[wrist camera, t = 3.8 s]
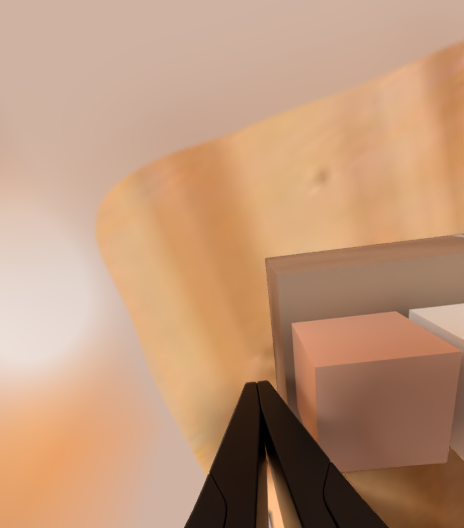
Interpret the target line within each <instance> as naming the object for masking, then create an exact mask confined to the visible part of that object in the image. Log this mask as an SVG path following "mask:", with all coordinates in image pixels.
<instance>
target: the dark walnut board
mask: <svg viewBox="0 0 464 528" xmlns="http://www.w3.org/2000/svg"><path fill="white" fill-rule="evenodd" d="M265 261H266V272H267V282H268V293H269V304H270V315H271V325H272V336H273V347H274V357H275V368H276V379H277V390H278V394H279V395H280V396H281V398H282V399H283V400H284V401H285V403H286V404H287V405H288V407H289V408H290V409H291V410H292V412H293V413H294V414H295V415H296V417H297V418H298V419H299V420H300V422H301V423H302V420H301V417H300V414H299V411H298V408H297V394H296V380H295V366H294V351H293V337H292V323H297V322H306V321H315V320H324V319H332V318H341V317H350V316H359V315H367V314H376V313H385V312H393V311H396V312H398V313H400V314H401V315H403V316H405V317H406V318H408V319H409V310H411V309H420V308H428V307H437V306H446V305H455V304H463V303H464V237H457V236H442V237H434V238H426V239H418V240H410V241H402V242H394V243H385V244H377V245H369V246H361V247H353V248H345V249H337V250H329V251H320V252H312V253H304V254H296V255H288V256H280V257H272V258H265ZM302 424H303V423H302Z"/></svg>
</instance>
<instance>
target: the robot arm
mask: <svg viewBox="0 0 464 528" xmlns="http://www.w3.org/2000/svg"><path fill="white" fill-rule="evenodd" d="M265 447H266V449H265ZM266 453H267V458H268V462H269V467H270V471H271V475H272V479H273V483H274V487H275V491H276V496H277V500H278V504H279V508H280V512H281V516H282V520H283V524H284V528H389V527H388V526H387V525H386V524H385V523H384V522H383V521H382V520H381V519H380V517H379V516H378V515H377V514H376V513H375V512H374V511H373V510H372V509H371V508H370V506H369V505H368V504H367V503H366V502H365V501H364V500H363V499H362V498H361V496H360V495H359V494H358V493H357V492H356V491H355V489H354V488H353V487H352V486H351V485H350V483H349V482H348V481H347V480H346V479H345V477H344V476H343V475H342V474H341V472H340V471H339V470H338V469H337V467H336V466H335V465H334V463H333V462H331V460H330V459H329V457H328V456H327V455H326V453H325V452H324V451H323V450H322V448H321V447H320V446H319V445H318V443H317V442H316V441H315V440H314V438H313V437H312V436H311V434H310V433H309V432H308V431H307V429H306V428H305V427H304V426H303V424H302V423H301V422H300V420H299V419H298V418H297V417H296V415H295V414H294V413H293V412H292V410H291V409H290V408H289V407H288V405H287V404H286V403H285V401H284V400H283V399H282V398H281V396H280V395H279V394H278V393H277V391H276V390H275V389H274V387H273V386H272V385H271V384H270V382H269V381H267V380H265V381H258V382H257V383H256V382H247V383H246V384H245V386H244V388H243V390H242V393H241V395H240V398H239V400H238V403H237V405H236V408H235V410H234V412H233V415H232V417H231V420H230V422H229V425H228V427H227V430H226V432H225V434H224V437H223V439H222V442H221V444H220V447H219V449H218V452H217V454H216V457H215V459H214V461H213V464H212V466H211V469H210V471H209V473H210V474H208V476H207V478H206V481H205V483H204V486H203V488H202V490H201V493H200V495H199V497H198V500H197V502H196V504H195V506H194V509H193V511H192V513H191V515H190V517H189V519H188V521H187V523H186V525H185V527H184V528H269V515H268V487H267V460H266Z"/></svg>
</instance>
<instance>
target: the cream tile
mask: <svg viewBox="0 0 464 528" xmlns="http://www.w3.org/2000/svg"><path fill="white" fill-rule="evenodd" d="M409 319H410V320H411V321H413V322H414V323H416V324H418V325H419V326H421V327H423V328H424V329H426V330H428V331H429V332H431V333H432V334H434V335H436V336H437V337H439V338H441V339H442V340H444V341H446V342H447V343H449V344H450V345H452V346H454V347H455V348H457V349H459V350H460V351H462V354H461V362H460V370H459V377H458V385H457V393H456V400H455V408H454V416H453V423H452V431H451V438H450V447H451V448H452V449H453V450H454V451H455V452H456V453H457V454H458V455H459V457H460V458H461V459H462V460H463V461H464V303H463V304H455V305H446V306H437V307H428V308H420V309H411V310H409Z"/></svg>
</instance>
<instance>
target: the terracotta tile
mask: <svg viewBox="0 0 464 528" xmlns="http://www.w3.org/2000/svg"><path fill="white" fill-rule="evenodd" d="M292 337H293V351H294V366H295V380H296V394H297V408H298V411H299V414H300V417H301V420H302V423H303V426H304V427H305V428H306V429H307V431H308V432H309V433H310V434H311V436H312V437H313V438H314V440H315V441H316V442H317V443H318V445H319V446H320V447H321V448H322V450H323V451H324V452H325V453H326V455H327V456H328V457H329V459H330V460H331V462H333V463H334V465H335V466H336V467H337V469H338V470H339V471H340V472H352V471H362V470H373V469H384V468H394V467H405V466H415V465H426V464H437V463H447V461H448V454H449V446H450V438H451V431H452V423H453V416H454V408H455V400H456V393H457V385H458V377H459V370H460V362H461V354H462V351H460V350H459V349H457V348H455V347H454V346H452V345H450V344H449V343H447V342H446V341H444V340H442V339H441V338H439V337H437V336H436V335H434V334H432V333H431V332H429V331H428V330H426V329H424V328H423V327H421V326H419V325H418V324H416V323H414V322H413V321H411V320H410V319H408V318H406V317H405V316H403V315H401V314H400V313H398V312H396V311H393V312H385V313H376V314H367V315H359V316H350V317H341V318H332V319H324V320H315V321H306V322H297V323H292Z"/></svg>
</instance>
